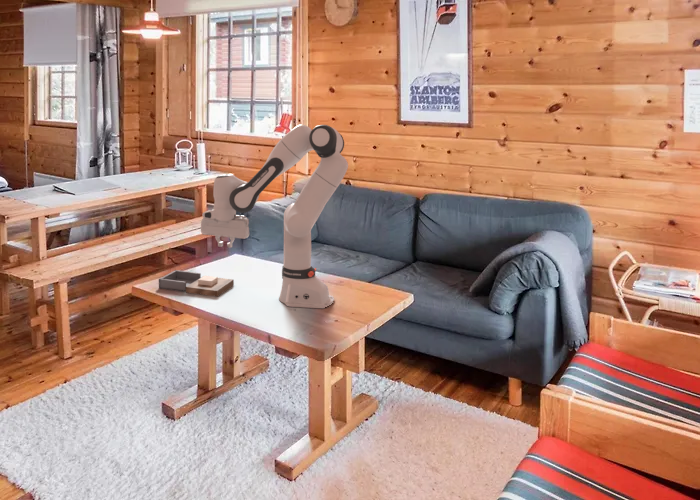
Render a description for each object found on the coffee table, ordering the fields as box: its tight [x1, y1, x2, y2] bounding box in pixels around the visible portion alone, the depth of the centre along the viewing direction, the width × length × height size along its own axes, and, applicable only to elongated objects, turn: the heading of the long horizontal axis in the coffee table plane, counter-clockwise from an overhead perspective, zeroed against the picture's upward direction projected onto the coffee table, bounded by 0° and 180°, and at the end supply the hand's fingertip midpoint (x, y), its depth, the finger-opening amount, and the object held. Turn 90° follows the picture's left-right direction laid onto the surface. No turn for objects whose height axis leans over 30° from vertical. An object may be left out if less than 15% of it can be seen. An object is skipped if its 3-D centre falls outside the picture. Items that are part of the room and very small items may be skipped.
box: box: [158, 269, 202, 293], centre depth 272 cm, size 12×14×4 cm
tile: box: [198, 275, 219, 286], centre depth 269 cm, size 6×6×2 cm
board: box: [185, 276, 235, 297], centre depth 269 cm, size 14×16×2 cm
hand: (225, 246), depth 263 cm, fingers open, 3 cm apart
